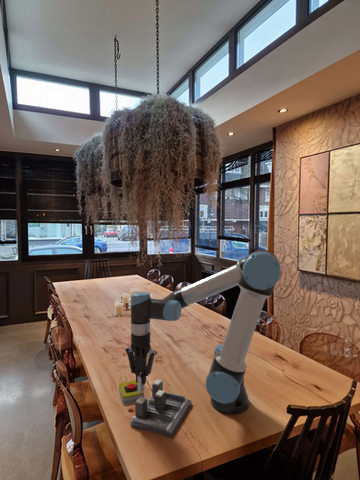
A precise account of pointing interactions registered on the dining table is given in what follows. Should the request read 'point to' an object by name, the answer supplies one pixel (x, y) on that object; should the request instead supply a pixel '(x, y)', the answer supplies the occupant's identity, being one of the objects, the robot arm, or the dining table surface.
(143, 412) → the block
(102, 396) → the dining table surface
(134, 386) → the emergency button
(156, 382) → the breaker far
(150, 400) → the panel
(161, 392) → the block
